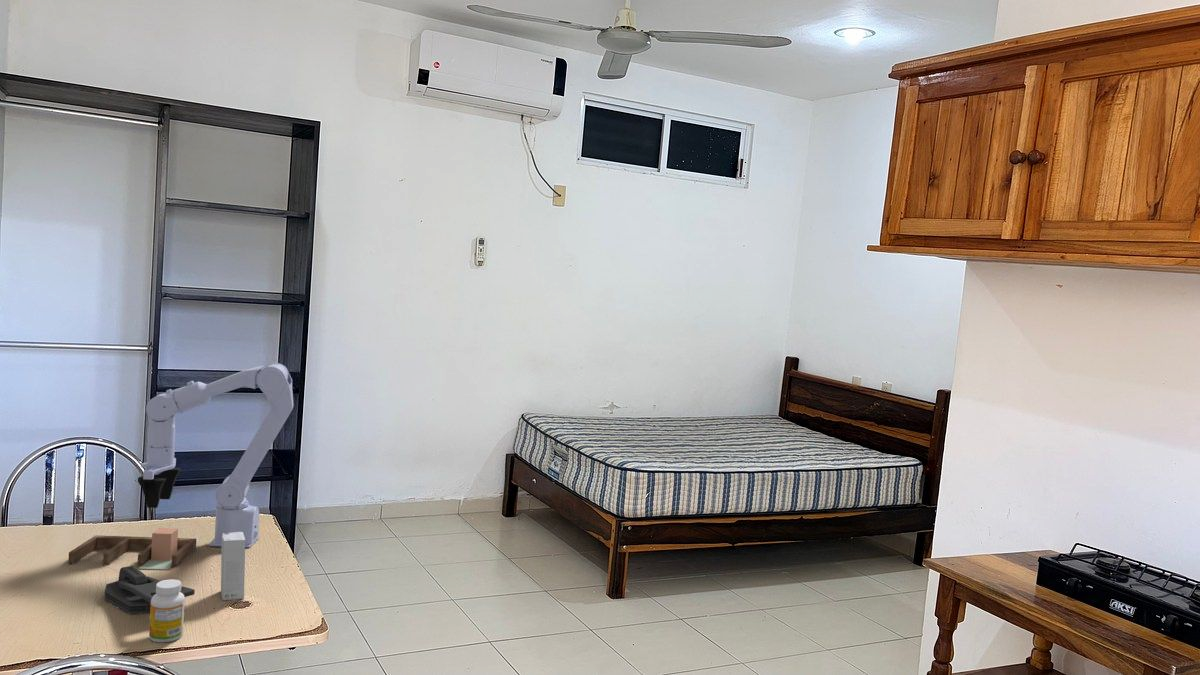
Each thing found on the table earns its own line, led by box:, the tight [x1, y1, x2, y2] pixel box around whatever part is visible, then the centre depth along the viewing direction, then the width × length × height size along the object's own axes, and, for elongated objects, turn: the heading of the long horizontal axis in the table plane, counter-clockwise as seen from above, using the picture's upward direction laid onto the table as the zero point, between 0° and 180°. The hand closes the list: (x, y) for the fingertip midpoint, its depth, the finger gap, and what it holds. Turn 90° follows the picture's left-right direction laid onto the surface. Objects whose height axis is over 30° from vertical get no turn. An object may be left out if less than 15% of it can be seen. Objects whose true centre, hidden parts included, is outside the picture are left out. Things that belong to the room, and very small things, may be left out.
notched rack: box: [68, 534, 197, 571], centre depth 193 cm, size 22×14×2 cm, turn 97°
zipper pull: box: [104, 565, 196, 615], centre depth 166 cm, size 9×7×25 cm
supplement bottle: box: [148, 578, 186, 643], centre depth 154 cm, size 5×5×10 cm
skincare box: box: [220, 532, 246, 601], centre depth 176 cm, size 6×4×12 cm
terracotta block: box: [151, 527, 179, 561], centre depth 194 cm, size 4×4×6 cm
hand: (158, 503), depth 204 cm, fingers open, 7 cm apart
